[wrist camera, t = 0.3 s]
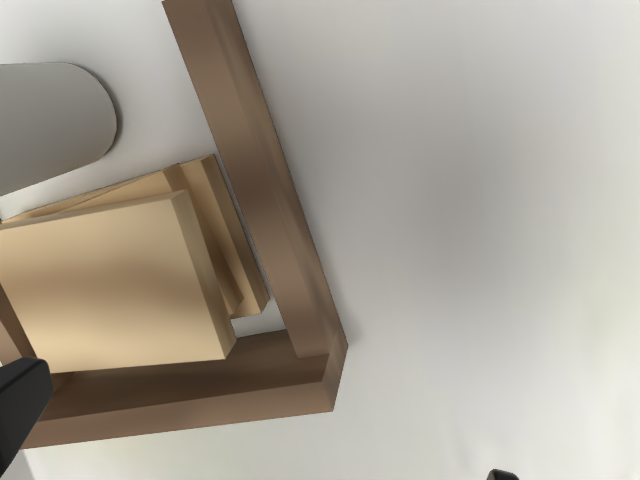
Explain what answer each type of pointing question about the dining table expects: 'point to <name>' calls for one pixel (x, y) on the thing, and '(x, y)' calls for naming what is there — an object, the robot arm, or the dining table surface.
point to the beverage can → (50, 122)
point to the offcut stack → (133, 272)
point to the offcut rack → (277, 260)
